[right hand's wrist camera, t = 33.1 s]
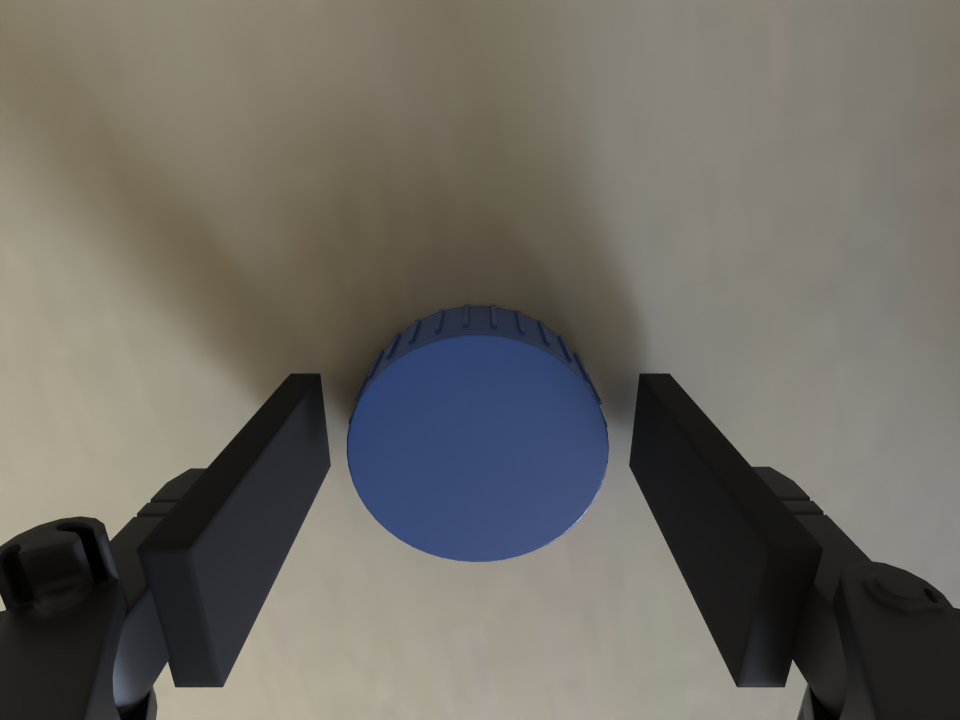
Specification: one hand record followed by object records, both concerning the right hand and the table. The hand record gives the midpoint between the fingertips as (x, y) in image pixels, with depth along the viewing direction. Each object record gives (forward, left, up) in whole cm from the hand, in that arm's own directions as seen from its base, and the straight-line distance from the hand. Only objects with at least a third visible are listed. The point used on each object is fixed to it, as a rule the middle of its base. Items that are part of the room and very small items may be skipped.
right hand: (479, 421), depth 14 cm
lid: (0, 0, +1) cm, 1 cm away
